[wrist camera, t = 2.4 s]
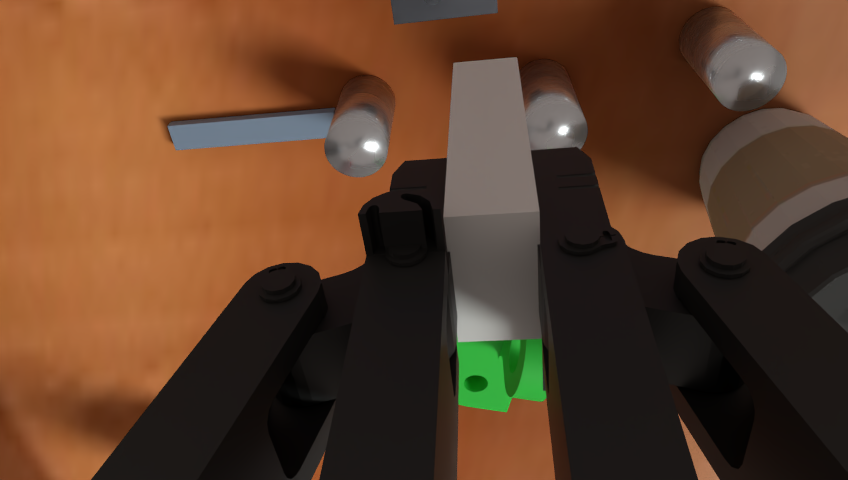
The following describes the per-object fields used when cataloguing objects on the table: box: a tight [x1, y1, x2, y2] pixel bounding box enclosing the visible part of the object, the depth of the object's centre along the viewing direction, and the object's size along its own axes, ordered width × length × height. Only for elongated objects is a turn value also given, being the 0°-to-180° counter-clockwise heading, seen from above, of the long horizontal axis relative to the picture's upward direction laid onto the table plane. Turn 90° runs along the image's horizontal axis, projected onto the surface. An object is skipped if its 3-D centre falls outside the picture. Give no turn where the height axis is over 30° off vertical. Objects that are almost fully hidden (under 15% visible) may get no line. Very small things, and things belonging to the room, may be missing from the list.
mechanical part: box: [457, 337, 546, 412], centre depth 46 cm, size 12×6×8 cm, turn 170°
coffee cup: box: [699, 108, 848, 332], centre depth 34 cm, size 11×11×15 cm
